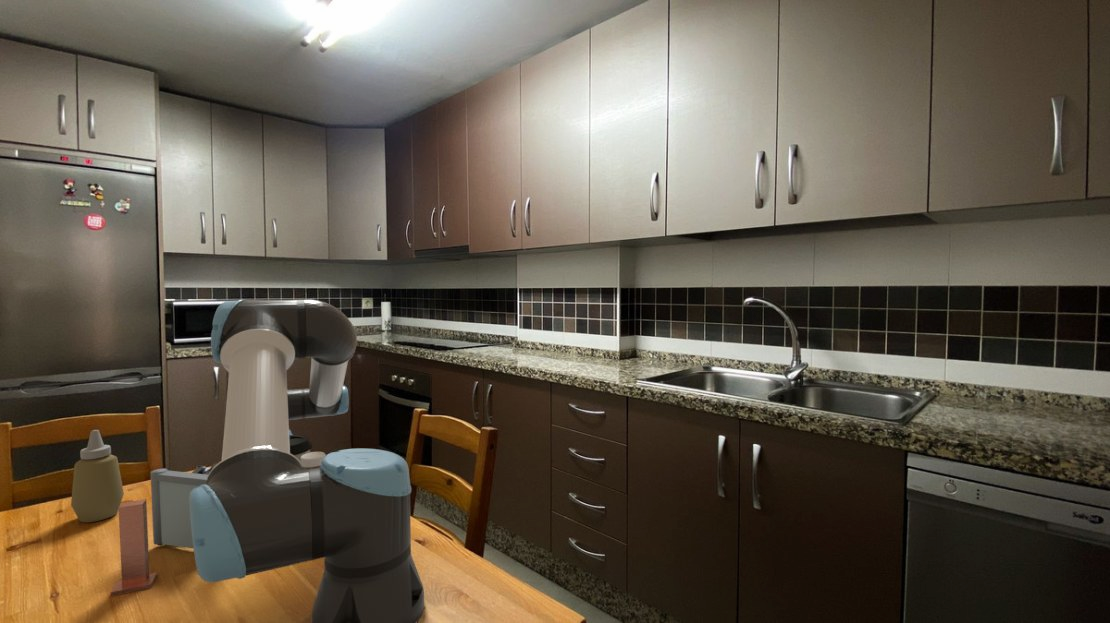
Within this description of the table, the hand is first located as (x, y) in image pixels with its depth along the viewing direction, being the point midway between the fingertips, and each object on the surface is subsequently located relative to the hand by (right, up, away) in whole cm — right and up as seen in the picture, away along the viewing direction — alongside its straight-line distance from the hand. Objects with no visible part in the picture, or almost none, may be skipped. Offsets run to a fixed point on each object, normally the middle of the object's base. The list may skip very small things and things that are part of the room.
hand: (171, 503), depth 94 cm
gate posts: (+9, -8, -9) cm, 15 cm away
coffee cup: (+15, -7, +13) cm, 21 cm away
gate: (+6, -7, -3) cm, 9 cm away
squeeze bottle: (-23, -7, +11) cm, 27 cm away
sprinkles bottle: (+22, -7, +9) cm, 25 cm away
